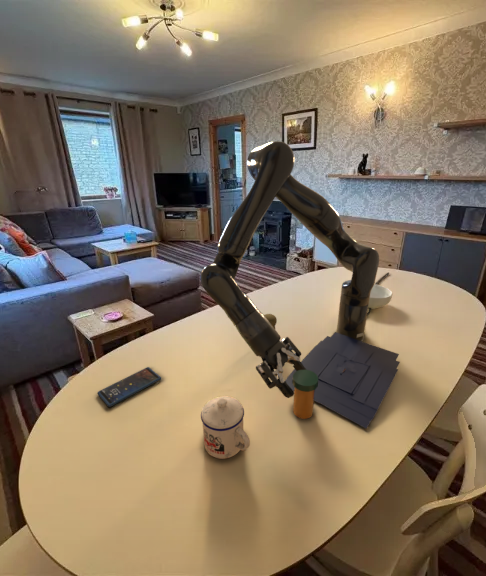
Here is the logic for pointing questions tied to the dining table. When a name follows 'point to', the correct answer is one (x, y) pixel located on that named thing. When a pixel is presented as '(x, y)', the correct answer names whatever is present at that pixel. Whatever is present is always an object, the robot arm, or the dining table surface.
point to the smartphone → (128, 386)
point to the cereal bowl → (379, 296)
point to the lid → (305, 380)
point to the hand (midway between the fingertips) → (298, 385)
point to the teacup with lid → (224, 427)
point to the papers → (350, 376)
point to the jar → (303, 403)
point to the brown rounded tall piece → (271, 319)
